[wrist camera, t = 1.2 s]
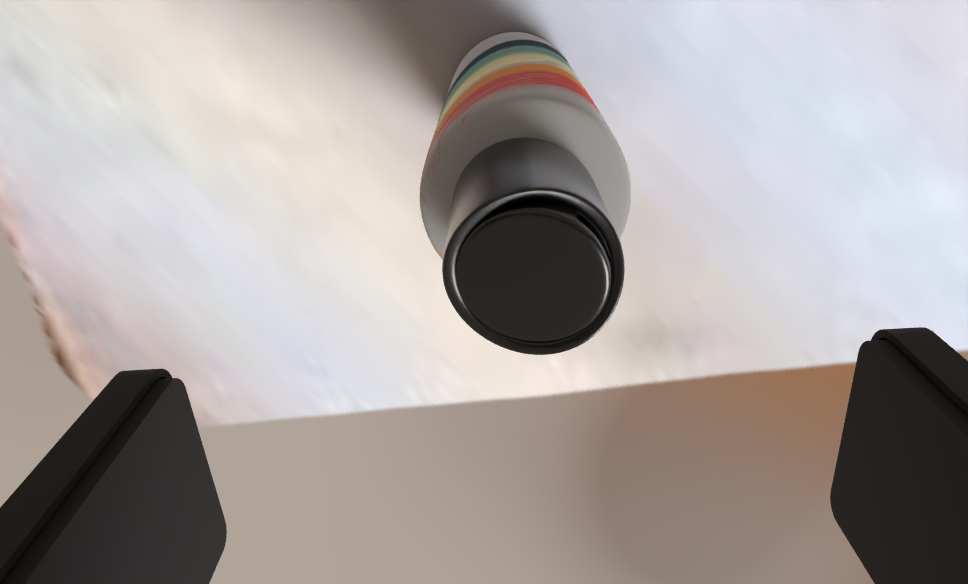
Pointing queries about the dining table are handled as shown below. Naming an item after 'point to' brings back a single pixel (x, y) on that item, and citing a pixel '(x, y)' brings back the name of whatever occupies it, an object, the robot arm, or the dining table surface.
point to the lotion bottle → (526, 198)
